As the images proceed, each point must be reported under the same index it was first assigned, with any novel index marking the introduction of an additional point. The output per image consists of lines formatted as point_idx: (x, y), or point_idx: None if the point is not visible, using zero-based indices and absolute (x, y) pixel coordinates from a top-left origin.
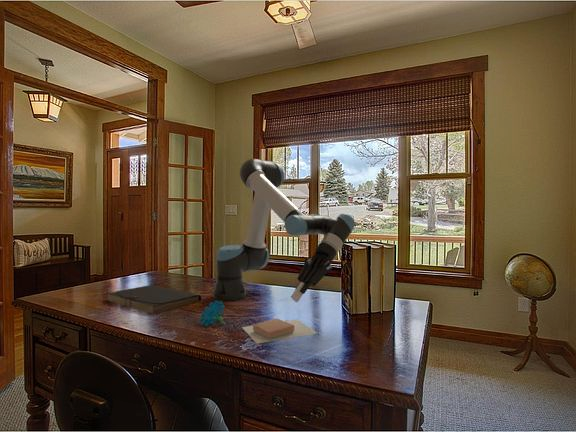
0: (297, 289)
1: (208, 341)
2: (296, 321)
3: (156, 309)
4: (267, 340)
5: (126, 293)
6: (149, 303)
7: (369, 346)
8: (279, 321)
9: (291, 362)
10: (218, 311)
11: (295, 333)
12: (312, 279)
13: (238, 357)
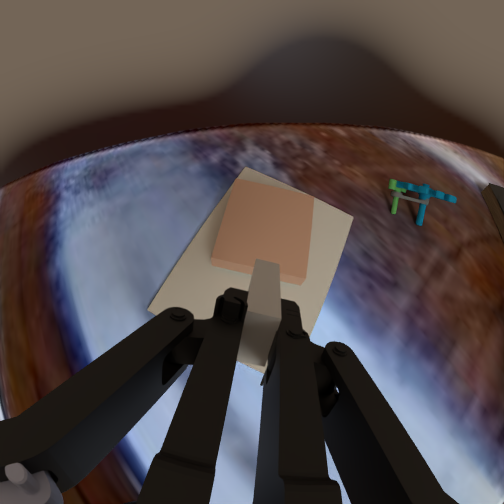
0: (264, 283)
1: (329, 143)
2: None
3: (488, 194)
4: None
5: None
6: (500, 191)
7: (21, 309)
8: (276, 258)
9: (139, 155)
10: (415, 186)
11: (205, 265)
12: (160, 323)
13: (233, 125)
